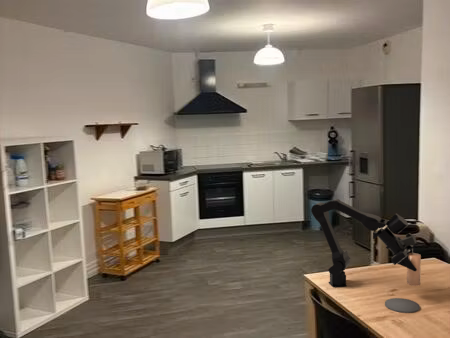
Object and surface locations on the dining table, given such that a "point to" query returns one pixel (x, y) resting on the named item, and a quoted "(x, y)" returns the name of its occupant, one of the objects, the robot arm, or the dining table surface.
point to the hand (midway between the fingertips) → (417, 268)
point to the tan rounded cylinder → (414, 276)
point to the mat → (402, 305)
